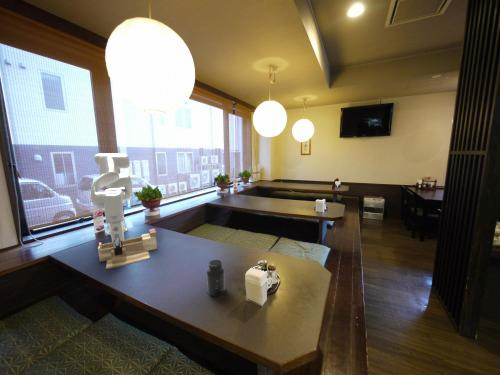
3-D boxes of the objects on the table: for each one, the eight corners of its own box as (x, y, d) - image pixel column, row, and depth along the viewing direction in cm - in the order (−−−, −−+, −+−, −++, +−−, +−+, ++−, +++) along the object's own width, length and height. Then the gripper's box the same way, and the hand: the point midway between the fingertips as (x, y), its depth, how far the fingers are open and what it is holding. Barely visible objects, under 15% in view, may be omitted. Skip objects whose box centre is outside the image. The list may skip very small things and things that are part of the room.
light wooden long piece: (101, 255, 111) (99, 242, 110) (154, 243, 125) (153, 232, 124) (99, 261, 104) (97, 248, 103) (157, 248, 118) (155, 236, 117)
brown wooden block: (149, 233, 122) (148, 229, 122) (154, 232, 124) (154, 228, 123) (150, 237, 116) (150, 233, 116) (156, 236, 118) (156, 232, 117)
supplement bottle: (204, 291, 80) (202, 262, 78) (218, 283, 84) (217, 256, 83) (214, 299, 75) (212, 269, 73) (228, 291, 79) (227, 262, 78)
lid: (107, 262, 104) (105, 249, 103) (148, 253, 114) (147, 240, 113) (106, 270, 97) (104, 256, 96) (150, 259, 107) (148, 246, 105)
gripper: (124, 221, 94) (128, 256, 97) (123, 212, 109) (127, 242, 112) (104, 224, 90) (109, 260, 93) (106, 215, 105) (110, 246, 108)
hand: (119, 250), depth 102 cm, fingers open, 9 cm apart
